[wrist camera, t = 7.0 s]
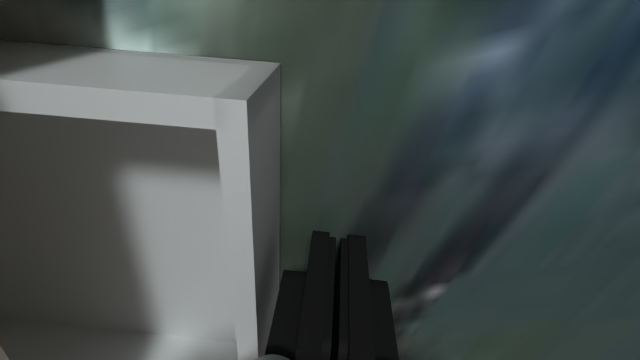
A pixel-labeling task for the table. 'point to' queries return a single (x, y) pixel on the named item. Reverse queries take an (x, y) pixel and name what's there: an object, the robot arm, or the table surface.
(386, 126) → the table surface
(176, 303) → the white open tray
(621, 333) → the table surface
